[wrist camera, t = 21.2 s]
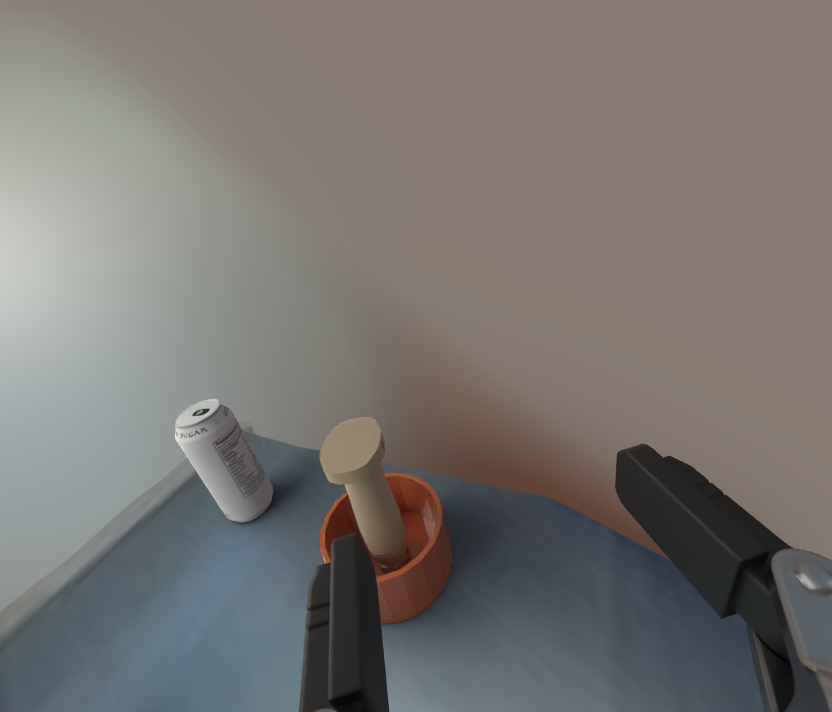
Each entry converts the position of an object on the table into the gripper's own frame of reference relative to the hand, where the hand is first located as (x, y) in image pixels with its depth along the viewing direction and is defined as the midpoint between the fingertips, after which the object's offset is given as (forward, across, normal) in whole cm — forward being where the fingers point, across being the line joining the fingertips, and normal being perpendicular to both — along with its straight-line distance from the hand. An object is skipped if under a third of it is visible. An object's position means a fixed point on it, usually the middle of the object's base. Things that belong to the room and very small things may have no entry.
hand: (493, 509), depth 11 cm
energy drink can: (+30, +24, +24) cm, 45 cm away
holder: (+17, +7, +24) cm, 30 cm away
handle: (+16, +7, +24) cm, 30 cm away
